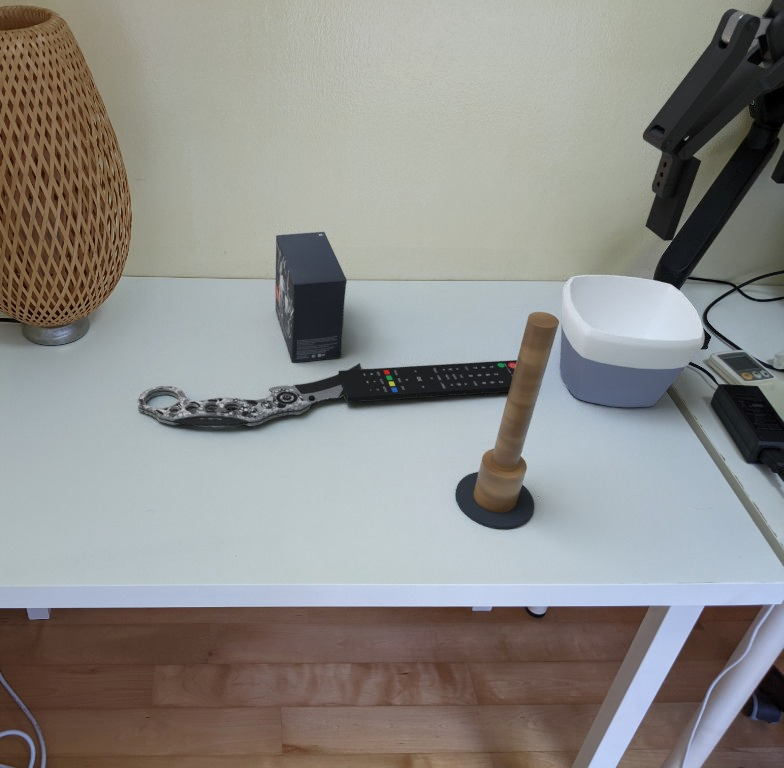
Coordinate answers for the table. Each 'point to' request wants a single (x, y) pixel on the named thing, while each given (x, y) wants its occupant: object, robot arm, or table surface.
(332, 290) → the small box
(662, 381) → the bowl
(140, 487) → the table surface
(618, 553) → the table surface
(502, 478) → the muddler
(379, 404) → the table surface
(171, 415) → the knife
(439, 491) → the table surface
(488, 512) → the coaster
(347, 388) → the remote control
